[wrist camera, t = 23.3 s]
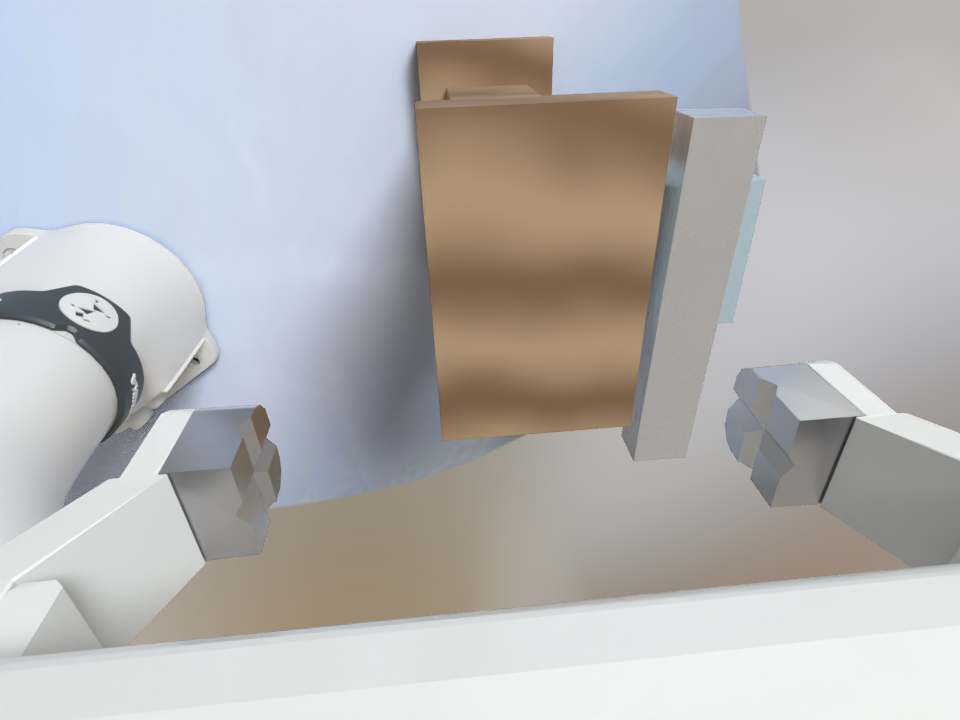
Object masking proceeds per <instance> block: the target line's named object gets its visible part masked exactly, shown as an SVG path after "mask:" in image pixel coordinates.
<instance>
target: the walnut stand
mask: <svg viewBox="0 0 960 720" xmlns="http://www.w3.org/2000/svg"><path fill="white" fill-rule="evenodd" d="M416 46H417V59H418V71H419V84H420V97H421V101H415V116H416V128H417V140H418V152H419V164H420V176H421V188H422V200H423V212H424V224H425V236H426V248H427V260H428V272H429V284H430V296H431V308H432V320H433V332H434V344H435V356H436V368H437V380H438V392H439V404H440V416H441V428H442V440H443V441H450V440H462V439H475V438H487V437H500V436H512V435H524V434H537V433H549V432H560V431H574V430H586V429H598V428H610V427H623V426H631V419H632V412H633V405H634V398H635V391H636V384H637V377H638V370H639V363H640V356H641V349H642V342H643V335H644V328H645V321H646V314H647V307H648V300H649V293H650V286H651V279H652V272H653V265H654V259H655V252H656V245H657V238H658V231H659V224H660V217H661V210H662V203H663V196H664V189H665V182H666V175H667V168H668V161H669V154H670V147H671V140H672V133H673V126H674V119H675V112H676V105H677V98H678V97H676V96H673V95H670V94H668V93H665V92H662V91H659V90H658V91H636V92H613V93H591V94H568V95H551V94H552V66H553V37H521V38H495V39H469V40H443V41H416Z"/></svg>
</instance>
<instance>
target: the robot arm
mask: <svg viewBox="0 0 960 720" xmlns="http://www.w3.org/2000/svg"><path fill="white" fill-rule="evenodd" d="M218 357H219V348H218V346H217V344H216V342H215V340H214V338H213V336H212V335H211V333H210V331H209V330H208V327H207V322H206V311H205V304H204V300H203V297H202V294H201V291H200V289H199V287H198V285H197V283H196V281H195V279H194V278H193V276H192V275H191V273H190V272H189V270H188V269H187V268H186V267H185V266H184V264H183V263H182V262H181V261H180V260H179V259H178V258H177V257H176V256H175V255H173V254H172V253H171V252H170V251H169V250H167V249H166V248H165V247H163V246H162V245H160V244H159V243H157V242H156V241H154V240H152V239H151V238H149V237H147V236H145V235H143V234H140V233H138V232H136V231H133V230H130V229H127V228H124V227H120V226H116V225H110V224H102V223H84V224H77V225H72V226H68V227H65V228H61V229H57V230H49V231H47V230H41V229H33V228H14V229H12V230H10V231H9V232H8V233H6V234H5V235H4V236H3V238H2V240H1V245H0V720H960V433H957V432H955V431H952V430H950V429H947V428H944V427H942V426H939V425H936V424H934V423H931V422H928V421H926V420H923V419H920V418H918V417H915V416H912V415H910V414H907V413H901V414H897V413H896V412H894V411H893V410H892V409H891V408H890V407H888V406H887V405H886V404H885V403H884V402H882V401H881V400H880V399H879V398H878V397H877V396H875V395H874V394H873V393H872V392H871V391H869V390H868V389H867V388H866V387H865V386H863V385H862V384H861V383H860V382H859V381H858V380H856V379H855V378H854V377H853V376H852V375H850V374H849V373H848V372H847V371H846V370H844V369H843V368H842V367H841V366H840V365H838V364H837V363H836V362H832V361H829V360H821V361H812V362H802V363H798V364H788V365H778V366H766V367H756V368H744V369H742V370H741V371H740V372H739V374H738V375H737V377H736V381H735V384H734V388H733V389H734V390H735V392H736V394H737V395H738V397H739V399H738V400H737V401H736V402H735V403H734V404H733V405H732V406H731V407H730V408H729V409H728V412H727V417H726V422H725V430H726V439H727V442H728V445H729V447H730V450H731V452H732V453H733V455H734V456H735V458H736V459H737V460H738V461H739V462H741V463H743V464H744V465H746V466H748V467H750V468H752V469H753V470H752V474H751V478H750V479H751V480H752V482H753V483H754V485H755V486H756V488H757V489H758V490H759V492H760V493H761V495H762V496H763V497H764V499H765V500H766V501H767V503H768V505H769V506H770V507H785V506H801V505H816V504H821V506H820V507H822V508H823V509H825V510H826V511H828V512H829V513H831V514H832V515H834V516H835V517H837V518H838V519H840V520H841V521H843V522H844V523H846V524H847V525H849V526H850V527H852V528H853V529H855V530H856V531H858V532H859V533H861V534H862V535H864V536H865V537H867V538H868V539H870V540H871V541H873V542H874V543H876V544H877V545H879V546H880V547H882V548H883V549H885V550H886V551H888V552H889V553H891V554H892V555H894V556H895V557H897V558H898V559H900V560H901V561H903V562H904V563H906V564H907V565H909V566H910V567H912V568H904V569H895V570H884V571H874V572H866V573H865V572H864V573H855V574H844V575H834V576H824V577H814V578H804V579H794V580H784V581H774V582H764V583H754V584H745V585H734V586H724V587H714V588H705V589H694V590H683V591H673V592H663V593H653V594H643V595H633V596H623V597H613V598H603V599H593V600H583V601H574V602H563V603H553V604H543V605H532V606H522V607H513V608H502V609H492V610H482V611H474V612H473V611H472V612H463V613H453V614H444V615H433V616H425V617H424V616H423V617H413V618H404V619H393V620H384V621H374V622H364V623H354V624H344V625H335V626H324V627H314V628H304V629H294V630H284V631H274V632H264V633H254V634H244V635H234V636H224V637H214V638H203V639H193V640H183V641H173V642H162V643H152V644H142V645H132V646H128V645H129V644H130V643H131V642H132V641H133V640H134V639H135V637H136V636H137V635H138V634H139V633H140V632H141V631H142V630H143V629H144V628H145V627H146V626H147V625H148V624H149V623H150V622H151V621H152V620H153V618H154V617H155V616H156V615H157V614H158V613H159V612H160V611H161V610H162V609H163V608H164V607H165V606H166V605H167V604H168V603H169V602H170V601H171V600H172V598H173V597H174V596H175V595H176V594H177V593H178V592H179V591H180V590H181V589H182V588H183V587H184V586H185V585H186V584H187V583H188V582H189V581H190V579H191V578H192V577H193V576H194V575H195V574H196V573H197V572H198V571H199V570H200V569H201V568H202V567H203V566H204V565H205V561H206V560H216V559H223V558H232V557H240V556H249V555H258V554H261V552H262V548H263V545H264V541H265V538H266V535H267V532H268V528H269V525H270V522H271V521H270V518H269V515H268V512H267V509H268V508H269V507H270V506H271V505H272V504H273V503H274V502H276V501H277V497H278V494H279V490H280V482H281V465H280V457H279V453H278V450H277V446H276V445H275V444H274V443H272V442H271V441H270V440H268V439H267V438H266V436H267V433H268V430H269V428H270V422H269V419H268V416H267V413H266V410H265V408H263V407H262V406H261V405H245V406H228V407H210V408H199V409H196V408H192V409H180V410H168V411H166V412H164V413H161V415H160V416H159V418H158V419H157V421H156V422H155V424H154V425H153V427H152V428H151V430H150V431H149V433H148V435H147V436H146V438H145V439H144V441H143V442H142V444H141V445H140V447H139V448H138V450H137V451H136V453H135V455H134V456H133V458H132V459H131V461H130V462H129V464H128V465H127V467H126V468H125V470H124V472H123V473H122V475H121V476H120V478H114V479H108V480H107V481H105V482H103V483H102V484H100V485H99V486H97V487H95V488H94V489H92V490H91V491H89V492H87V493H86V494H84V495H83V496H81V497H79V498H78V499H76V500H75V501H73V502H72V503H70V504H68V505H67V506H65V507H64V503H65V500H66V497H67V495H68V493H69V491H70V489H71V488H72V486H73V484H74V482H75V480H76V479H77V477H78V475H79V474H80V472H81V471H82V469H83V467H84V466H85V464H86V462H87V461H88V459H89V458H90V456H91V455H92V453H93V452H94V450H95V449H96V447H97V446H98V445H99V444H100V443H102V442H103V441H105V440H106V439H107V438H109V437H110V436H111V435H112V434H113V433H121V432H123V431H125V430H126V429H128V428H129V427H130V428H131V429H133V430H136V431H137V430H138V429H140V428H141V427H142V426H143V425H144V424H145V423H146V422H147V421H148V420H149V418H150V417H151V416H152V414H153V411H152V410H153V409H156V408H158V407H159V406H160V405H161V404H162V403H163V401H165V400H166V399H167V398H169V397H170V396H171V395H173V394H174V393H175V392H176V391H178V390H179V389H180V388H182V387H183V386H184V385H186V384H187V383H188V382H190V381H191V380H192V379H193V378H195V377H196V376H197V375H199V374H200V373H201V372H203V371H204V370H205V369H207V368H208V367H209V366H211V365H212V364H213V363H214V362H215V361H216V359H217V358H218ZM193 358H197V359H199V361H195V360H194V359H193ZM63 507H64V508H63Z"/></svg>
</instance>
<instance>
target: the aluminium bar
mask: <svg viewBox="0 0 960 720" xmlns="http://www.w3.org/2000/svg"><path fill="white" fill-rule="evenodd" d="M766 119H767V116H765V115H762V114H759V113H756V112H753V111H749V110H746V109H743V108H706V109H676V112H675V119H674V126H673V133H672V140H671V147H670V154H669V161H668V168H667V175H666V182H665V189H664V196H663V203H662V210H661V217H660V224H659V231H658V238H657V245H656V252H655V259H654V265H653V272H652V279H651V286H650V293H649V300H648V307H647V314H646V321H645V328H644V335H643V342H642V349H641V356H640V363H639V370H638V377H637V384H636V391H635V398H634V405H633V412H632V419H631V426H623V430H622V438H623V440H624V442H625V444H626V446H627V448H628V450H629V452H630V455H631V457H632V459H633V461H643V460H658V459H672V458H685V456H686V452H687V448H688V444H689V440H690V436H691V431H692V427H693V423H694V419H695V415H696V411H697V406H698V402H699V398H700V394H701V390H702V386H703V381H704V377H705V373H706V369H707V365H708V361H709V357H710V352H711V348H712V344H713V340H714V336H715V332H716V327H717V323H718V319H719V315H720V311H721V307H722V302H723V298H724V294H725V290H726V286H727V282H728V277H729V273H730V269H731V265H732V261H733V257H734V252H735V248H736V244H737V240H738V236H739V232H740V227H741V223H742V219H743V215H744V211H745V207H746V202H747V198H748V194H749V190H750V186H751V182H752V177H753V173H754V169H755V165H756V161H757V157H758V152H759V148H760V144H761V140H762V135H763V131H764V127H765V123H766Z"/></svg>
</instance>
